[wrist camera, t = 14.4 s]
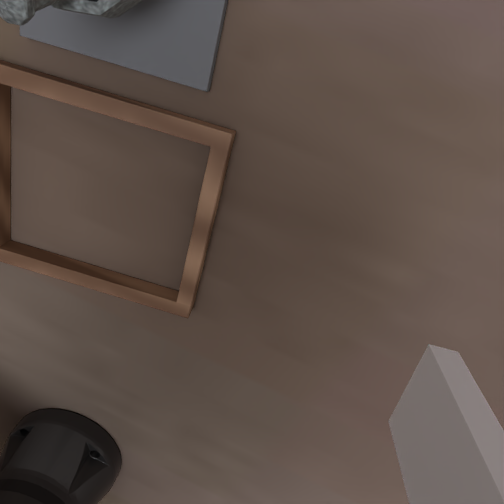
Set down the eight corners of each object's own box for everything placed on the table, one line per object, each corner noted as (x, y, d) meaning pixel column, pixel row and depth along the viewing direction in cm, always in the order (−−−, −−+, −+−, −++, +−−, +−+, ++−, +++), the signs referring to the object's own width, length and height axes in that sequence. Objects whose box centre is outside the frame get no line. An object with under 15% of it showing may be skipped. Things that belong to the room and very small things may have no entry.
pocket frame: (193, 307, 42) (187, 318, 40) (-3, 248, 42) (-17, 256, 40) (236, 131, 34) (232, 134, 32) (-6, 58, 34) (-24, 57, 32)
